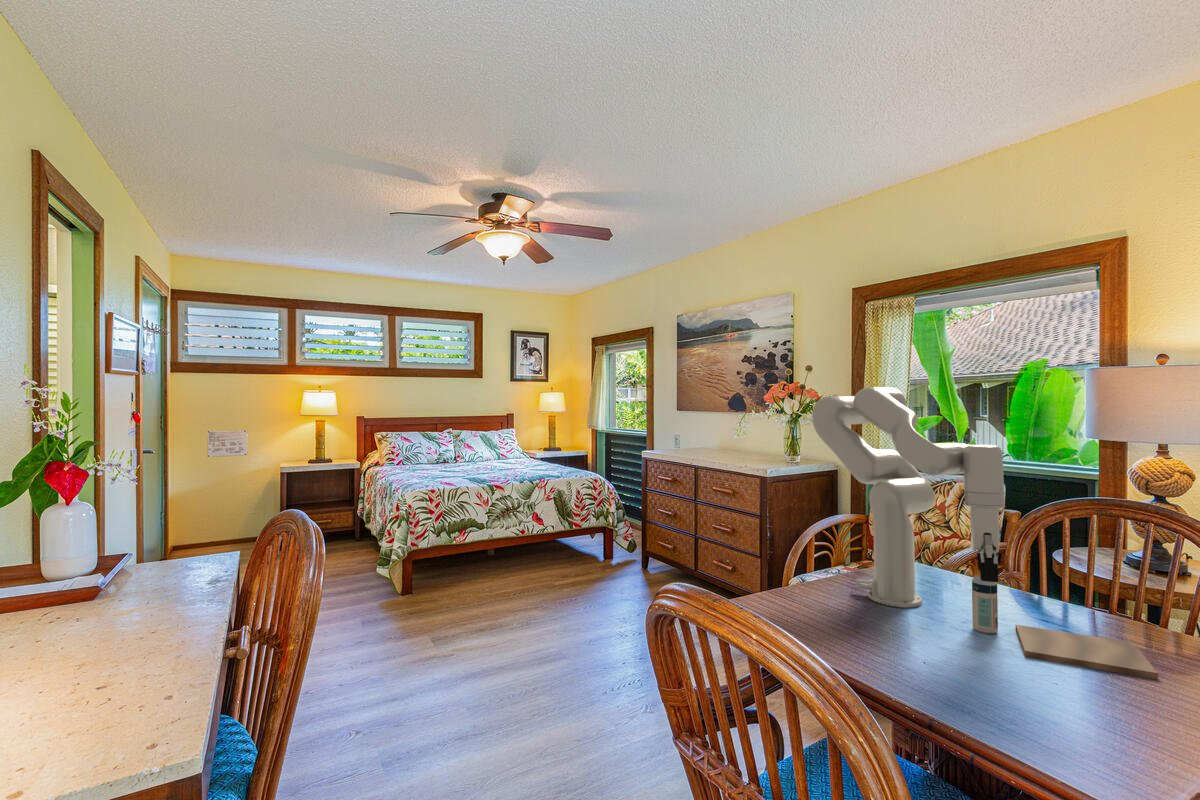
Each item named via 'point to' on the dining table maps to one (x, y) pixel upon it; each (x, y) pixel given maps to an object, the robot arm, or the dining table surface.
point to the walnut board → (1084, 651)
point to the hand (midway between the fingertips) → (987, 575)
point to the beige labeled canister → (984, 605)
